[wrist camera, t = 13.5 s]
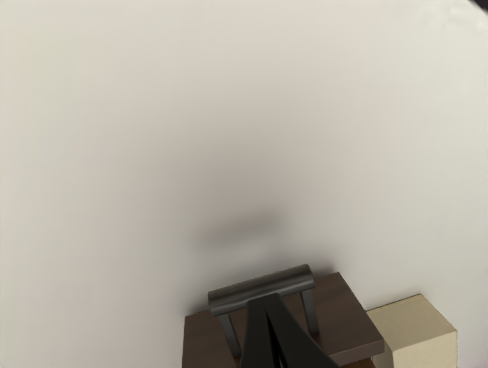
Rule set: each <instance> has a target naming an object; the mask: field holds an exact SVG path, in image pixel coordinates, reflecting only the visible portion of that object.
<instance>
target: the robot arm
mask: <svg viewBox="0 0 488 368" xmlns="http://www.w3.org/2000/svg"><path fill="white" fill-rule="evenodd" d="M246 306H247V316H246V328H245V336H244V342H243V349H242V354H241V359H240V363H239V368H281V364H280V360H281V363H282V366H283V368H341V367H340V366H339V365H338V364H337V363H336V362H335V361H334V360H333V359H332V358H331V357H330V356H329V355H327V354H326V353H325V352H324V350H323V349H322V348H321V347H320V346H319V345H318V344H317V343H316V342H315V341H314V340H313V339H312V338H311V337H310V335H309V334H308V333H307V332H306V331H305V330H304V328H303V327H302V326H301V325H300V324H299V322H298V321H297V320H296V319H295V317H294V316H293V315H292V313H291V312H290V310H289V309H288V307H287V306H286V304H285V303H284V301H283V299H282V298H281V296H280V294H279V293H277V292H275V293H272V294H269V295H265V296H262V297H258V298H255V299H251V300H248V302H247V303H246ZM279 358H280V359H279Z"/></svg>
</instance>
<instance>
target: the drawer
mask: <svg viewBox="0 0 488 368" xmlns="http://www.w3.org/2000/svg"><path fill="white" fill-rule="evenodd" d="M275 292H277V293H279V294H280V296H281V298H282V299H283V301H284V303H285V304H286V306H287V307H288V309H289V310H290V312H291V313H292V315H293V316H294V317H295V319H296V320H297V321H298V322H299V324H300V325H301V326H302V327H303V328H304V330H305V331H306V332H307V333H308V334H309V335H310V337H311V338H312V339H313V340H314V341H315V342H316V343H317V344H318V345H319V346H320V347H321V348H322V349H323V350H324V352H325V353H326V354H327V355H329V356H330V357H331V358H332V359H333V360H334V361H335V362H336V363H337V364H338V365H339V366H340V367H341V368H376V366H375V365H374V363H373V361H372V360H371V358H370V357H372V356H375V355H379V354H382V353H385V344H384V338H383V336H382V335H381V333H380V332H379V331H378V329H377V328H376V326H375V325H374V323H373V322H372V320H371V319H370V317H369V316H368V314H367V313H366V311H365V310H364V308H363V307H362V305H361V304H360V303H359V301H358V300H357V298H356V297H355V295H354V294H353V292H352V291H351V289H350V288H349V286H348V285H347V283H346V282H345V280H344V279H343V277H342V276H341V275H340V273H339V272H337V273H333V274H330V275H327V276H323V277H320V278H316V279H314V278H313V275H312V272H311V269H310V267H309V266H308V264H303V265H300V266H297V267H293V268H290V269H286V270H283V271H279V272H276V273H272V274H269V275H265V276H262V277H258V278H255V279H252V280H248V281H245V282H241V283H238V284H234V285H231V286H227V287H224V288H220V289H217V290H214V291H210V292H208V303H209V308H210V310H206V311H203V312H200V313H196V314H193V315H189V316H186V317H185V326H184V341H183V356H182V368H239V363H240V359H241V354H242V349H243V342H244V336H245V328H246V316H247V306H246V303H247V302H248V300H251V299H255V298H258V297H262V296H265V295H269V294H272V293H275ZM279 359H280V358H279ZM280 364H281V368H283V366H282V363H281V360H280Z"/></svg>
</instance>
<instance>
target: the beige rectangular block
mask: <svg viewBox="0 0 488 368" xmlns="http://www.w3.org/2000/svg"><path fill="white" fill-rule="evenodd" d="M366 313H367V314H368V316H369V317H370V319H371V320H372V322H373V323H374V325H375V326H376V328H377V329H378V331H379V332H380V333H381V335H382V336H383V338H384V344H385V353H382V354H379V355H375V356H372V358H373V363H374V365H375V366H376V368H457V330H456V329H455V328H454V327H453V326H452V325H451V324H450V323H449V322H448V321H447V320H446V319H445V318H444V316H443V315H442V314H441V313H440V312H439V311H438V310H437V309H436V308H435V307H434V306H433V305H432V304H431V303H430V302H429V301H428V300H427V299H426V298H425V297H424V296H423V295H422V294H419V295H416V296H413V297H410V298H407V299H404V300H401V301H398V302H395V303H391V304H388V305H385V306H382V307H379V308H376V309H373V310H370V311H367V312H366Z"/></svg>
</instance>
